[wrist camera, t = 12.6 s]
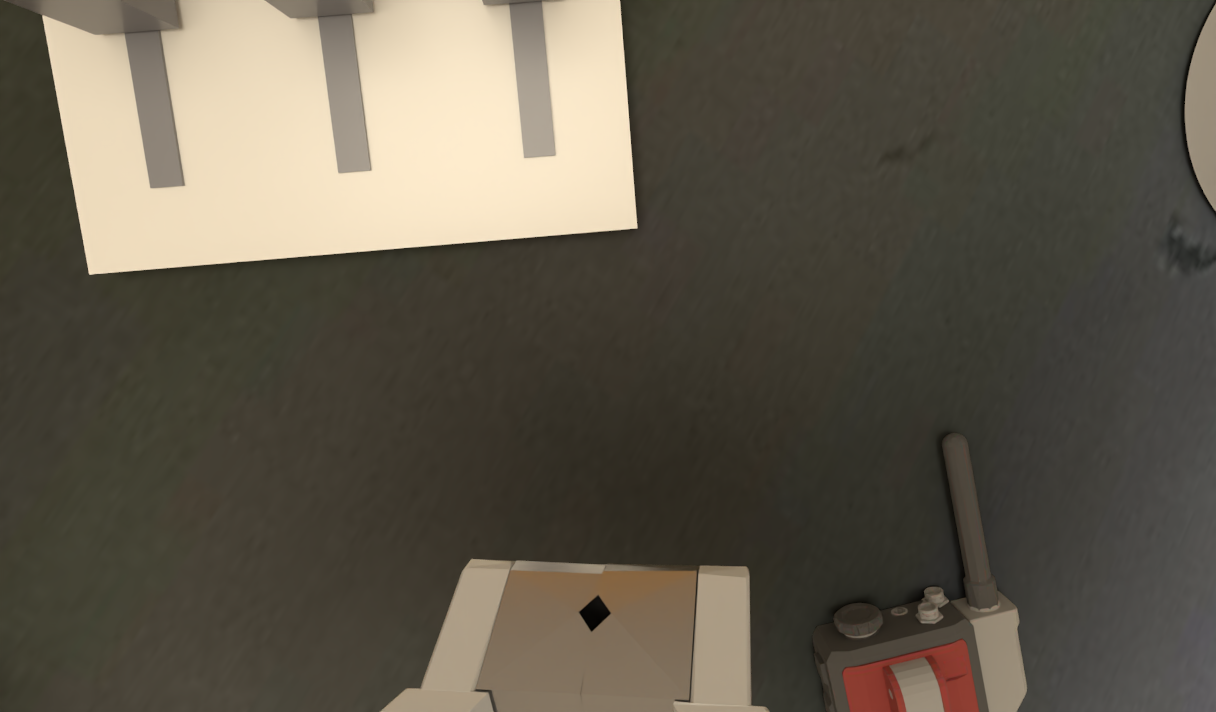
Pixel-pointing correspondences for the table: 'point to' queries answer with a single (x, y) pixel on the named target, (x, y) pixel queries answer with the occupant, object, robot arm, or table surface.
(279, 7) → the grey rectangular pillar
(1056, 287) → the table surface
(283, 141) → the switch bank
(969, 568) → the walkie-talkie
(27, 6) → the left switch
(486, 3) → the tall grey switch
